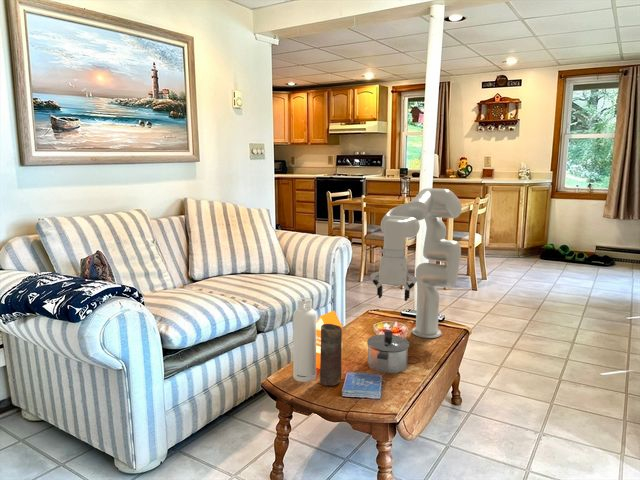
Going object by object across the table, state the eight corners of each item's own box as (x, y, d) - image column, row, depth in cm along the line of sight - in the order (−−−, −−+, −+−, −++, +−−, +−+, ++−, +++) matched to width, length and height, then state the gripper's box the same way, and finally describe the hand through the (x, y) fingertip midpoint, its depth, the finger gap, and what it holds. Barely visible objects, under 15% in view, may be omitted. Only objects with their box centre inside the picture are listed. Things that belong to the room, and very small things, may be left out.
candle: (328, 375, 167) (328, 321, 164) (345, 381, 163) (346, 325, 160) (315, 383, 161) (315, 327, 158) (333, 389, 157) (334, 331, 154)
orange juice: (311, 366, 175) (311, 314, 172) (325, 358, 182) (325, 308, 179) (328, 371, 171) (328, 318, 167) (342, 363, 177) (343, 312, 174)
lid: (371, 335, 185) (372, 322, 184) (411, 339, 180) (411, 327, 179) (363, 349, 170) (363, 336, 170) (406, 354, 166) (406, 341, 165)
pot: (374, 353, 188) (375, 333, 186) (410, 358, 183) (411, 338, 181) (362, 372, 170) (362, 351, 169) (401, 378, 166) (402, 356, 164)
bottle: (309, 369, 172) (310, 295, 168) (320, 378, 165) (320, 300, 160) (289, 374, 168) (289, 298, 164) (299, 383, 161) (299, 304, 157)
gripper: (368, 253, 171) (367, 299, 175) (416, 257, 165) (415, 304, 169) (373, 249, 178) (372, 293, 181) (419, 252, 172) (418, 298, 175)
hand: (393, 298), depth 175 cm, fingers open, 9 cm apart
